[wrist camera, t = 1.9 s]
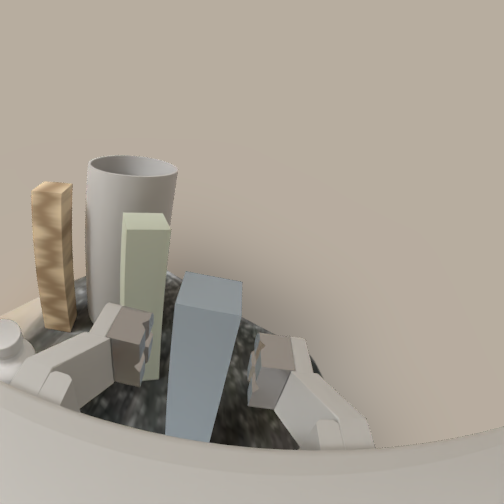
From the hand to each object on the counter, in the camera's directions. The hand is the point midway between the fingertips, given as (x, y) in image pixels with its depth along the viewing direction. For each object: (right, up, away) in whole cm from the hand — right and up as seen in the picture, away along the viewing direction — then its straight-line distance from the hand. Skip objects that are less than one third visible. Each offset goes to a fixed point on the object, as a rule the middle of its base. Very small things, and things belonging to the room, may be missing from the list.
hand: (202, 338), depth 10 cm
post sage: (-14, -14, +31) cm, 37 cm away
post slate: (-6, -20, +23) cm, 31 cm away
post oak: (-29, -8, +35) cm, 46 cm away
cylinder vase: (-20, -8, +41) cm, 46 cm away
